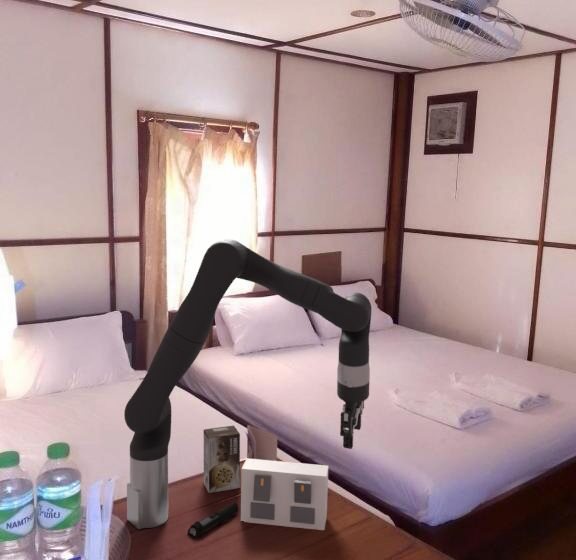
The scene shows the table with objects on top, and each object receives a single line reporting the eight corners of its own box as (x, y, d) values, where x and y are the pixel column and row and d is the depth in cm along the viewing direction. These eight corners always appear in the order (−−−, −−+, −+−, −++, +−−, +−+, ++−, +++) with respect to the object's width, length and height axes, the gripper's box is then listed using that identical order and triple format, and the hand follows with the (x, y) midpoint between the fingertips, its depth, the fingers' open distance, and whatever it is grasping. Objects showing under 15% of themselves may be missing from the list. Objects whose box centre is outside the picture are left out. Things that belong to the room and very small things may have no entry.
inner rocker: (252, 500, 148) (254, 475, 148) (253, 499, 149) (255, 474, 149) (269, 502, 147) (270, 477, 148) (269, 501, 148) (271, 476, 149)
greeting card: (243, 474, 178) (244, 425, 175) (268, 471, 179) (269, 423, 177) (251, 492, 167) (252, 440, 164) (277, 490, 168) (279, 438, 166)
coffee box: (233, 478, 175) (234, 424, 172) (240, 488, 169) (241, 433, 167) (202, 483, 171) (203, 428, 169) (208, 493, 166) (208, 437, 163)
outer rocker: (294, 502, 148) (294, 482, 146) (294, 500, 149) (294, 480, 147) (310, 504, 147) (310, 484, 145) (311, 501, 148) (311, 481, 146)
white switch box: (240, 522, 152) (241, 469, 150) (245, 509, 158) (246, 458, 156) (324, 531, 149) (326, 477, 147) (326, 517, 155) (328, 465, 153)
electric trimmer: (242, 515, 156) (242, 504, 155) (197, 541, 143) (197, 528, 143) (231, 510, 158) (231, 499, 157) (186, 535, 146) (186, 522, 145)
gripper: (345, 362, 149) (344, 420, 155) (329, 389, 137) (329, 451, 142) (375, 366, 147) (373, 425, 152) (362, 394, 134) (360, 457, 139)
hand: (352, 437), depth 147 cm, fingers open, 8 cm apart
